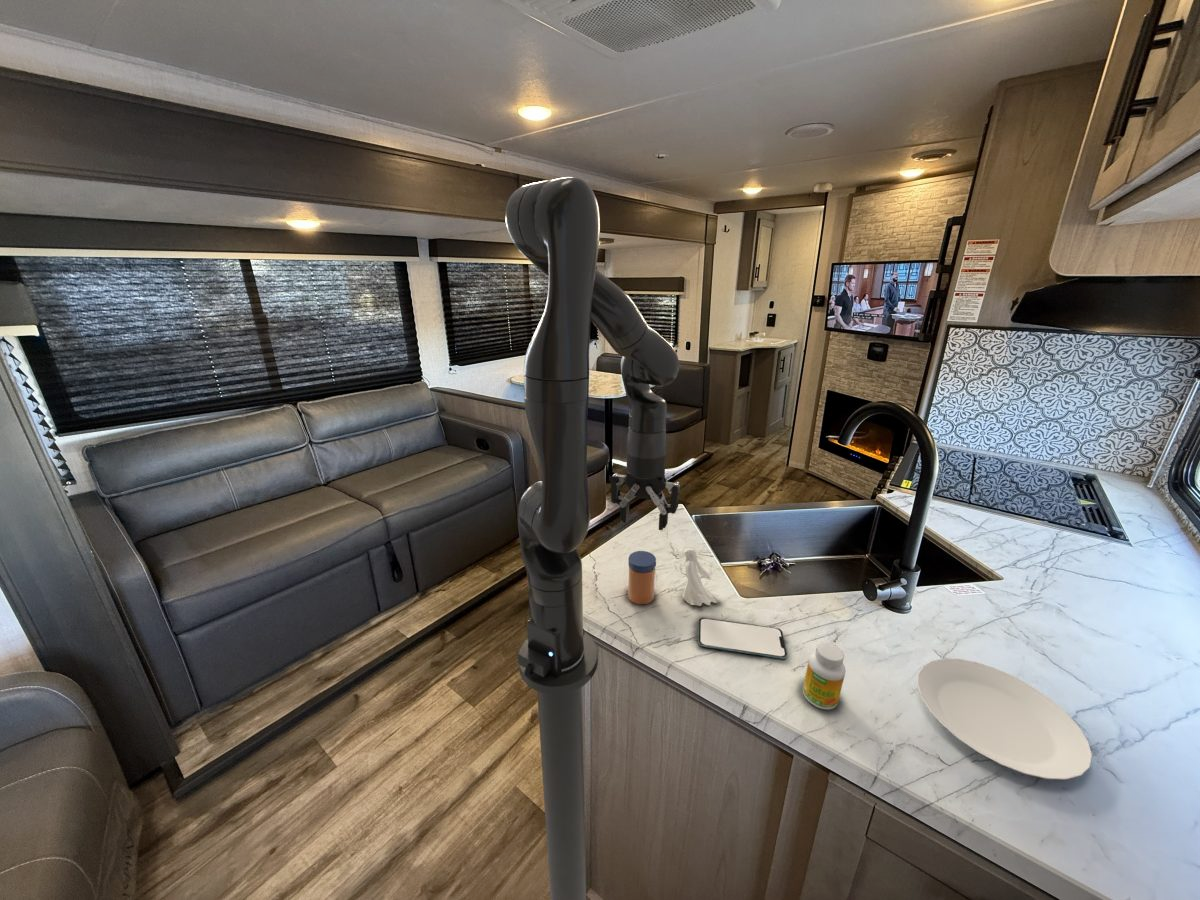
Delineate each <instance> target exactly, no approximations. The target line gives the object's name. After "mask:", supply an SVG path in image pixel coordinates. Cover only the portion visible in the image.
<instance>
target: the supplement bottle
mask: <svg viewBox="0 0 1200 900" xmlns="http://www.w3.org/2000/svg"><path fill="white" fill-rule="evenodd" d="M844 659H845V653H844V651H843V650H842V649H841V648H840V647H839V646H838V645H836V644H834V643H832V642H828V641H822V642H819V643H818V644H817V645H816V647H815V651H814V652H812V653H811V654H810V656H809V657H808V662H807V667H806V672H805V677H804V682H803V686H802V693H803V696H804V697H805V699H806V700H807V701H808V702H809V703H810V704H811V705H812V706H814V707H816V708H818V709H820V710H821V709H822V710H832V709H834V708H836V707H837V706H838V703H839V700H840V696H841V692H842V688H843V683H844V680H845V676H846V671H847V670H846V665H845V663H844Z"/></svg>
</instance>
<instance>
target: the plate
mask: <svg viewBox="0 0 1200 900" xmlns="http://www.w3.org/2000/svg"><path fill="white" fill-rule="evenodd" d="M916 684H917V688H918V692H919V696H920V697H921V699H922V701H923V702H924V704H925V706H926V708H927V709H928V711H930V713H931V714H932V715H933V716H934V717H935V718H936V720H937V721H938V722H939V723H940V724H941V725H942V726H943V727H944V728H945V729H947V730H948V732H950V733H951V734H952V735H953V736H954V737H955V738H956V739H958V740H959V741H960V742H962V743H964V744H965V745H966V746H968V747H969V748H971V749H972V750H974V751H975V752H977V753H978V754H980V755H982V756H984V757H986V758H988V759H990V760H992V761H994V762H995V763H997V764H999V765H1001V766H1003V767H1006V768H1009V769H1011V770H1013V771H1016V772H1018V773H1021V774H1024V775H1028V776H1032V777H1036V778H1041V779H1044V780H1045V779H1046V780H1064V781H1065V780H1070V779H1074V778H1077V777H1081V776H1082V775H1084V774H1085V773H1086V772H1087V771H1089V769H1090V768H1091V764H1092V759H1093V754H1092V750H1091V747H1090V742H1089V741H1088V738H1086V736H1085V734H1084V732H1083V731H1082V729H1081V728H1080V726H1079V725H1078V724H1077V723H1076V721H1074V720H1073V718H1072V717H1071V716H1070V715H1069V714H1068V713H1067V712H1066V711H1065V710H1064V709H1063V708H1061V707H1060V706H1059V705H1058V704H1057V703H1056V702H1055V701H1053V700H1052V699H1051V698H1050V697H1048V696H1047V695H1045V694H1044V693H1042V692H1041V691H1040V690H1038V689H1037V688H1035V687H1034V686H1032V685H1030V684H1029V683H1026V682H1025V681H1023V680H1021V679H1020V678H1018V677H1016V676H1014V675H1012V674H1010V673H1007V672H1005V671H1004V670H1003V671H1002V670H1001V669H998V668H996V667H993V666H990V665H986V664H983V663H981V662H977V661H974V660H973V661H972V660H968V659H967V660H966V659H963V658H962V659H961V658H940V659H935V660H934V659H933V660H931V661H929V662H927V663H926V664H923V666H922V667H921V669H920V670H919V671H918V673H917V681H916Z"/></svg>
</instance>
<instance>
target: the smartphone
mask: <svg viewBox="0 0 1200 900" xmlns="http://www.w3.org/2000/svg"><path fill="white" fill-rule="evenodd" d="M697 635H698V637H697V638H698V639H697V640H698V641H697V642H698V645H699V646H701V647H703V648H710V649H716V650H720V651H728V652H734V653H741V654H749V655H754V656H762V657H769V658H775V659H781V660H784V659H786V658H787V657H788V651H787V646H786V642H785V638H784V633H783V631H782V629H781V628H779V627H774V626H767V625H759V624H752V623H744V622H738V621H730V620H723V619H715V618H708V617H706V618H705V617H701V618H699V620H698V633H697Z"/></svg>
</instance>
